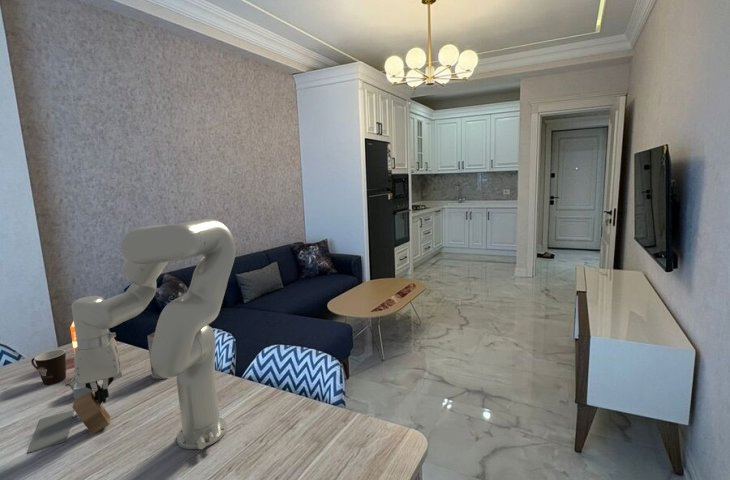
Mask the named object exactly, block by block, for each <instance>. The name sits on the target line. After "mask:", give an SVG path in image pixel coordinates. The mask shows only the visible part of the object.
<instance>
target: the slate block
mask: <svg viewBox="0 0 730 480" xmlns="http://www.w3.org/2000/svg"><path fill="white" fill-rule="evenodd" d="M90 391H91V389H89V388H87V387H84V388H77V387H76V383H75V385H74V389H73V390H72V392H73V397H74V398H73V399H74V400H75V399H77V398H78V397H80V396H82V395H84V394H86V393H88V392H90ZM92 391H93V390H92ZM94 394H95V392H94ZM76 415H77V414H76ZM77 421H78V422H81V421H82V420H81V419H80V417H79V416H78V415H77Z"/></svg>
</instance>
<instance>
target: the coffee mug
mask: <svg viewBox="0 0 730 480" xmlns="http://www.w3.org/2000/svg"><path fill="white" fill-rule="evenodd" d="M66 357H67V356H66V350H65V349H62V348H61V349H59V348H58V349H53V350H49V351H45V352H41V353H40V354H37V355H36V356H34V357H33V358H31V361H30V362H31V365H32V366H33V367H34V368H35V369H36V370H38V372H39V375H40V379H41V381H42V384H44V385H43V386H53V385H57V384H59V383H62V382H63V381H65V380H66V379H67V366H66V364H67V362H66V360H67V359H66Z"/></svg>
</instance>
